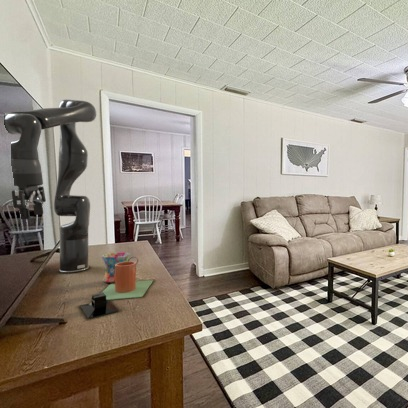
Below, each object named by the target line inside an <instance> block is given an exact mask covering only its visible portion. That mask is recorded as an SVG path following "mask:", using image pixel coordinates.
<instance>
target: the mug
mask: <svg viewBox="0 0 408 408" xmlns="http://www.w3.org/2000/svg"><path fill="white" fill-rule="evenodd" d="M131 255H132V253H131V252H112V253H111V252H110V253H105V254H103V255H101V259H102V260H103V262H104V263H103V264H104V267H105V272H104V276H103V278H102V282H104V283H109V284H111V283H115V264H117V263H121V262H130V260H132V259H137V260H136V266H137V265H138V263H139V261H140V259H139V258H138V257H137V256H132V257H131Z"/></svg>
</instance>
